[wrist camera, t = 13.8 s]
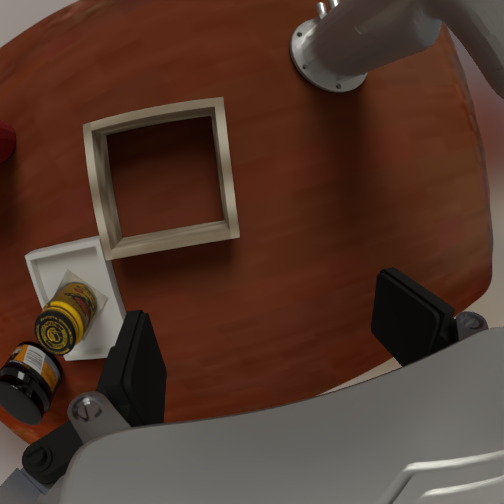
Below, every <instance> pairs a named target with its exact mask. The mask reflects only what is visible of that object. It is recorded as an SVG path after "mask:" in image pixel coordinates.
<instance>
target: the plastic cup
mask: <svg viewBox="0 0 504 504" xmlns="http://www.w3.org/2000/svg"><path fill="white" fill-rule="evenodd" d="M15 143H16V136H15V132H14V130H13V128H12V127H11V126H10V125H8V124H7V123H5V122H2V121H1V120H0V163H2V162H4V161H6V160H7V159H8V158H9V157H10V156H11V155H12V152H13V150H14V148H15Z"/></svg>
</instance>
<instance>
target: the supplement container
mask: <svg viewBox="0 0 504 504" xmlns="http://www.w3.org/2000/svg"><path fill="white" fill-rule="evenodd" d="M61 379H62V371H61V368H60V365H59V363H58V361H57V360H56V358H55V357H54V356H53V355H52V354H51V353H49V352H48V351H46V350H45V349H44V348H43V347H42V346H41V345H39V344H37V343H35V342H30V341H25V342H22V343H20V344H19V345H18V346H17V347H16V349H15V351H14V352H13V353H12V355H11V356H10V358H9V359H8V360H7V362H6V363H5V365H4V366H3V367H2V368H1V369H0V405H1V406H2V407H3V408H4V409H5V410H6V411H7V412H8V413H9V414H10V415H12V416H13V417H14V418H16V419H17V420H19V421H21V422H23V423H26V424H30V425H37V424H39V423H40V422H41V420H42V418H43V415H44V413H46V412H47V411H48V410H49V409H50V406H51V402H52V399H53V397H54V395H55V392H56V390H57V388H58V386H59V384H60V382H61Z"/></svg>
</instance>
